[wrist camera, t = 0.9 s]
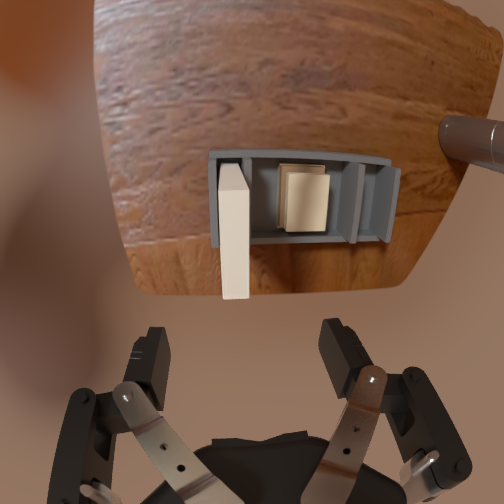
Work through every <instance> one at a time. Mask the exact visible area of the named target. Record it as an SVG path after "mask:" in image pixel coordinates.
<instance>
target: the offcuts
mask: <svg viewBox="0 0 504 504" xmlns="http://www.w3.org/2000/svg"><path fill="white" fill-rule="evenodd" d="M329 181H330V175H328V174H325V165H323V164H313V163H286V162H278V174H277V206H276V226H277V228H284V229H285V231H286V232H296V231H325V227H326V217H327V206H328V194H329Z"/></svg>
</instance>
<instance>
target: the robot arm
mask: <svg viewBox="0 0 504 504" xmlns="http://www.w3.org/2000/svg"><path fill="white" fill-rule="evenodd" d="M439 141H440V145H441V148H442V150H443V151H444V153H445V154H446V155H447V156H448V157H450V158H453V159H457V160H461V161H464V162H467V163H471V164H474V165H477V166H481V167H484V168H487V169H490V170H493V171H496V172H499V173H502V174H504V122H503V121H497V120H490V119H483V118H475V117H467V116H456V115H448V116H446V117H444V119H443V120H442V121H441V124H440V127H439ZM319 351H320V354H321V356H322V359H323V361H324V364H325V366H326V369H327V371H328V374H329V376H330V379H331V381H332V384H333V387H334V389H335V392H336V394H337V397H338V399H340V398H345V397H346V399H347V403H346V405H345V408H344V410H343V412H342V414H341V417H340V419H339V421H338V423H337V425H336V427H335V430H334V432H333V434H332V436H331V438H330V439H329V441H327V440H325V439H322V438H318V437H313V436H308V434H307V431H300V432H293V433H286V434H282V435H279V436H276V437H273V438H270V439H268V440H264V441H252V440H244V439H238V438H226V439H212V445H208V446H205V447H202V448H200V449H198V450H196V451H194V452H192V451H191V450H190V449H189V448H188V447H187V445H185V443H184V442H183V441H182V440H181V438H180V437H179V436H178V435H177V434H176V432H175V431H174V430H173V429H172V427H171V426H170V425H169V424H168V422H167V421H166V420H165V419H164V418H163V416H160V414H159V413H158V412H157V411H163V408H164V400H165V393H166V385H167V379H168V372H169V366H170V358H171V353H170V347H169V343H168V339H167V335H166V330H165V328H164V327H150V328H149V330H148V333H147V336H146V337H140V338H139V339H138V340H137V341H136V342H135V343H134V346H133V349H132V353H131V356H130V359H129V363H128V365H127V369H126V372H125V375H124V379H123V382H122V383H120V384H118V385H117V386H116V387H115V388H114V389H113V391H112V392H108V393H102V394H96V395H95V393H94V392H93V391H92V390H91V389H88V388H80V389H78V390H76V391H75V392H73V394H72V395H71V397H70V400H69V403H68V406H67V410H66V413H65V417H64V420H63V424H62V428H61V431H60V435H59V439H58V444H57V448H56V453H55V457H54V462H53V467H52V473H51V478H50V484H49V491H48V498H47V504H122V501H121V499H120V497H119V496H118V495H117V494H116V493H115V492H113V491H112V490H111V482H112V470H113V460H114V451H115V442H116V436H117V434H119V433H125V432H130V431H132V432H133V434H134V436H135V437H136V439H137V440H138V442H139V443H140V445H141V446H142V448H143V449H144V451H145V452H146V454H147V455H148V457H149V458H150V459H151V460H152V462H153V464H154V465H155V466H156V467H157V469H158V470H159V471H160V473H161V474H162V475H163V477H164V478H165V479H166V480H165V481H164V482H163V483H162V484H161V485H159V487H158V488H156V489H155V490H154V491H153V492H152V493H151V494H150V495H149V496H148V497H147V498H146V499H145V500H144V501H143V502H142V503H140V504H417V503H419V502H428V501H431V500H433V499H435V498H436V497H438V496H440V495H442V494H443V493H445V492H447V491H448V490H450V489H452V488H453V487H455V486H456V485H458V484H460V483H461V482H463V481H464V480H466V479H467V478H468V477H469V475H470V474H471V472H472V462H471V459H470V457H469V455H468V453H467V451H466V448H465V446H464V444H463V442H462V440H461V438H460V436H459V434H458V432H457V430H456V428H455V426H454V424H453V422H452V420H451V418H450V416H449V414H448V413H447V411H446V409H445V407H444V405H443V403H442V401H441V400H440V398H439V396H438V394H437V392H436V391H435V389H434V387H433V385H432V384H431V382H430V380H429V378H428V377H427V375H426V374H425V373H424V371H423V370H422V369H420V368H417V367H408V368H406V369H405V370H404V371H403V373H402V374H387V373H386V372H385V370H383V369H382V368H381V367H378V366H375V365H374V364H373V363H372V361H371V359H370V357H369V356H368V354H367V352H366V350H365V348H364V347H363V346H362V343H361V341H360V340H359V338H358V336H357V335H356V333H355V331H353V330H352V329H351V328H349V327H348V326H344V327H343V325H342V323H341V321H340V320H339V318H331V319H324V320H323V323H322V327H321V332H320V337H319ZM380 413H385V414H386V417H387V419H388V422H389V424H390V427H391V429H392V432H393V435H394V437H395V440H396V442H397V445H398V448H399V451H400V453H401V456H402V459H403V461H404V465H403V466H402V467H401V470H400V484H398V483H397V482H396V481H394V480H392V479H390V478H388V477H387V476H385V475H383V474H381V473H380V472H378V471H376V470H374V469H372V468H371V467H369V466H367V465H366V464H364V463H363V459H364V457H365V455H366V452H367V449H368V447H369V444H370V441H371V439H372V436H373V433H374V430H375V427H376V424H377V421H378V418H379V415H380Z"/></svg>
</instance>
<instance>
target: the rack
mask: <svg viewBox="0 0 504 504" xmlns="http://www.w3.org/2000/svg"><path fill="white" fill-rule="evenodd" d="M228 162H237V163H238V165H239V167H240V170H241V172H242V174H243V177H244V179H245V181H246V184H247V186H248V188H249V247H251V245H254V244H285V243H319V242H349V243H356V242H357V241H380V239H381V240H382V241H384V242H385V243H387V242H390V239H391V234H392V229H393V223H394V217H395V211H396V205H397V198H398V190H399V183H400V174H401V169H399V168H396V167H392V166H391V160H390V159H386V158H382V157H377V156H369V155H360V154H351V153H340V152H328V151H313V150H294V149H210V151H209V160H208V178H209V206H210V228H211V246H212V248H219V246H220V227H219V197H218V189H219V178H220V168H221V163H228ZM278 162H286V163H313V164H323V165H325V174H328V175H330V181H329V194H328V206H327V217H326V227H325V231H296V232H286V231H285V229H284V228H277V226H276V206H277V174H278Z"/></svg>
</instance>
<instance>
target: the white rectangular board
mask: <svg viewBox="0 0 504 504" xmlns="http://www.w3.org/2000/svg"><path fill="white" fill-rule="evenodd" d="M218 197H219V227H220V252H221V272H222V291H223V299H243V298H244V299H245V298H249V188H248V186H247V184H246V181H245V179H244V177H243V174H242V172H241V170H240V167H239V165H238V163H237V162H228V163H221V168H220V178H219V189H218Z"/></svg>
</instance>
